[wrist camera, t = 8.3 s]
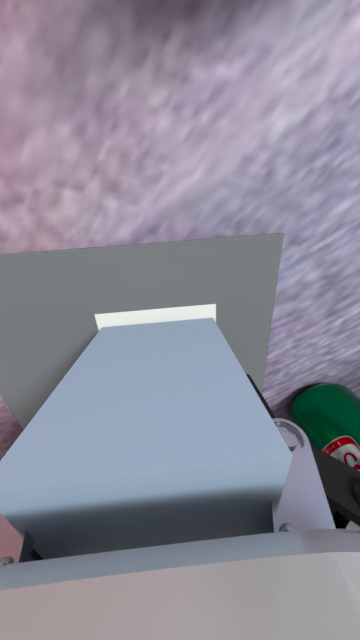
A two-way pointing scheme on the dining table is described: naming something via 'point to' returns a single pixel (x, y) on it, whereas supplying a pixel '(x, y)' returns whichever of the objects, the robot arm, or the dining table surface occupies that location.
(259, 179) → the dining table surface
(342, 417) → the soda can
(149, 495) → the blue block
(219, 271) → the mat
